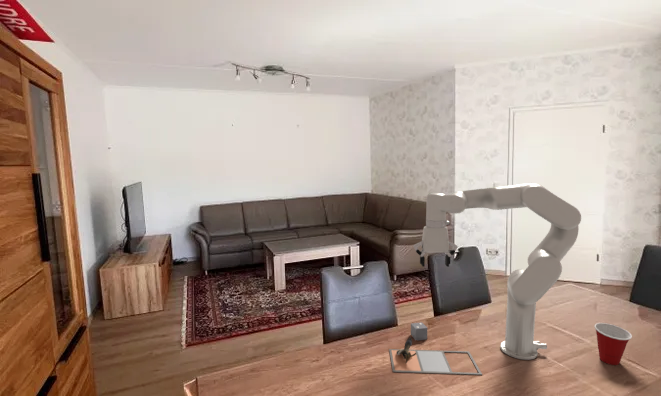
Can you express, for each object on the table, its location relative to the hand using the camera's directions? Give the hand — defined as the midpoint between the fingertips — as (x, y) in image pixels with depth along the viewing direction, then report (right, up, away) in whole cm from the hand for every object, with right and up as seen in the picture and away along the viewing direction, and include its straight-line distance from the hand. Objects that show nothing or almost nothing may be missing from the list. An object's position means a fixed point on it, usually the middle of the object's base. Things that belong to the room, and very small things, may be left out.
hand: (434, 265), depth 147 cm
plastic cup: (+59, -32, -15) cm, 69 cm away
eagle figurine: (-14, -32, -12) cm, 37 cm away
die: (-6, -30, +3) cm, 31 cm away
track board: (-5, -32, -15) cm, 36 cm away
